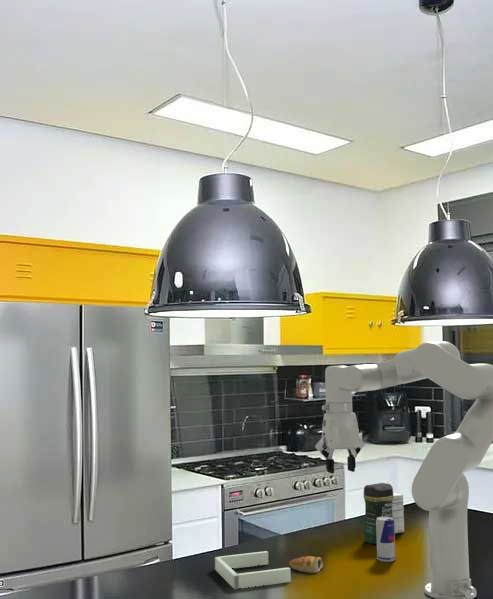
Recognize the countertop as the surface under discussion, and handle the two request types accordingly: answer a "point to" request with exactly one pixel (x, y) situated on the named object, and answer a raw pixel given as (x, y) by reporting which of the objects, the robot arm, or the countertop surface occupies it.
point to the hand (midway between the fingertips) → (341, 471)
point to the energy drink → (385, 539)
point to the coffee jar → (376, 507)
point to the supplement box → (398, 512)
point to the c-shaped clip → (251, 578)
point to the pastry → (307, 564)
